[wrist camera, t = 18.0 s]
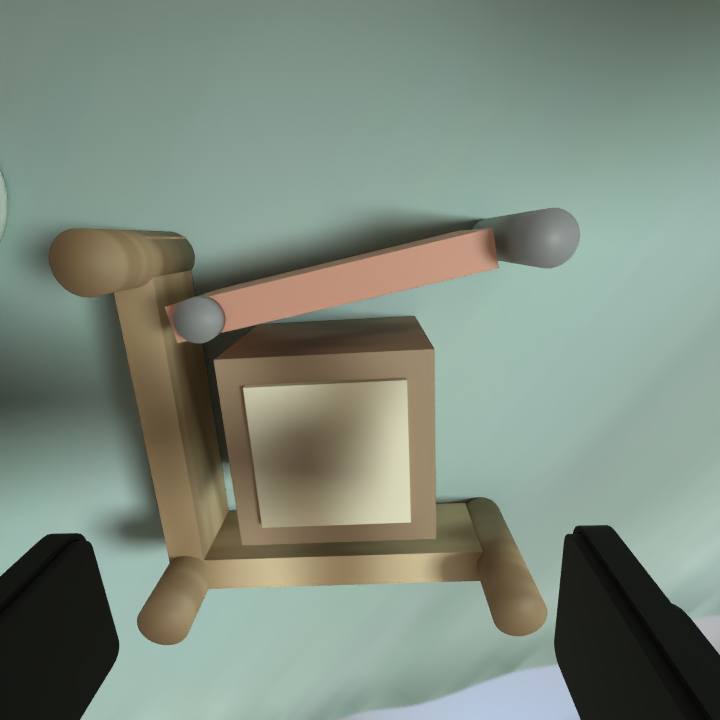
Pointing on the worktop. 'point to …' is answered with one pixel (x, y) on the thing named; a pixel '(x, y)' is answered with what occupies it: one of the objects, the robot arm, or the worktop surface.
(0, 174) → the sneaker
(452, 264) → the rail
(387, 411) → the seat block
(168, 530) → the frame
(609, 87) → the worktop surface
